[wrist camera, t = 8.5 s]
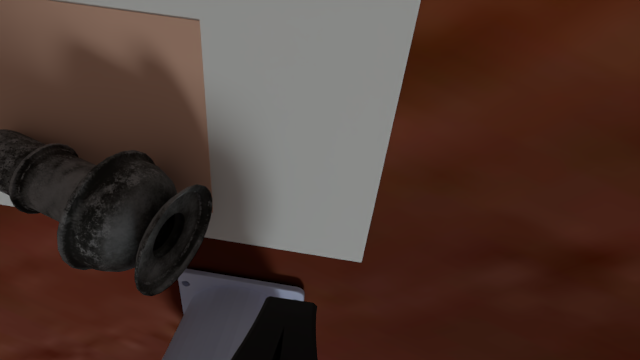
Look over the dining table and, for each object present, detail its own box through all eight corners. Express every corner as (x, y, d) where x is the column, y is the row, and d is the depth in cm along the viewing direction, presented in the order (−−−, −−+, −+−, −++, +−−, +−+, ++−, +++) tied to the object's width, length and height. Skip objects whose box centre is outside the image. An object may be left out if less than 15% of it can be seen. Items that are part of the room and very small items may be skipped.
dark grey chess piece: (211, 153, 17) (-4, 63, 19) (115, 260, 14) (-140, 136, 15) (219, 226, 22) (44, 148, 24) (149, 322, 18) (-52, 220, 20)
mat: (361, 258, 23) (361, 263, 22) (-4, 200, 24) (-9, 203, 23) (421, -8, 15) (422, -6, 14) (-133, -79, 16) (-143, -79, 15)
